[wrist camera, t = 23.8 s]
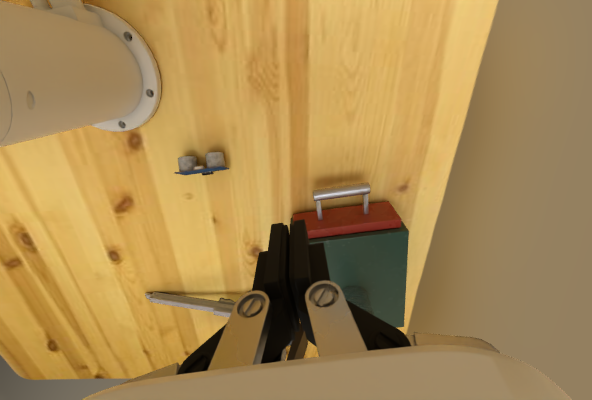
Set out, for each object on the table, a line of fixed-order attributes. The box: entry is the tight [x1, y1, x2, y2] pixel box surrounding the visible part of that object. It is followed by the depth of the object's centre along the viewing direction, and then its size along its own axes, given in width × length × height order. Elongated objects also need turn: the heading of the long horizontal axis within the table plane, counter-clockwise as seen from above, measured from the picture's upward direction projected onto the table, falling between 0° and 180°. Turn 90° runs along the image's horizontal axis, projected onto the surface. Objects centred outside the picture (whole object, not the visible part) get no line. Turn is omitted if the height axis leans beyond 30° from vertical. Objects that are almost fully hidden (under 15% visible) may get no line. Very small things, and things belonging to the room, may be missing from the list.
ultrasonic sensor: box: [174, 152, 229, 175], centre depth 32 cm, size 6×2×3 cm, turn 98°
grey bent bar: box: [145, 291, 251, 317], centre depth 41 cm, size 20×1×6 cm, turn 91°
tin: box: [342, 285, 374, 315], centre depth 32 cm, size 4×4×8 cm
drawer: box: [293, 183, 401, 240], centre depth 36 cm, size 21×13×5 cm, turn 9°
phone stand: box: [287, 323, 308, 361], centre depth 44 cm, size 9×6×12 cm, turn 93°
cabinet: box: [291, 218, 409, 328], centre depth 37 cm, size 18×15×7 cm
